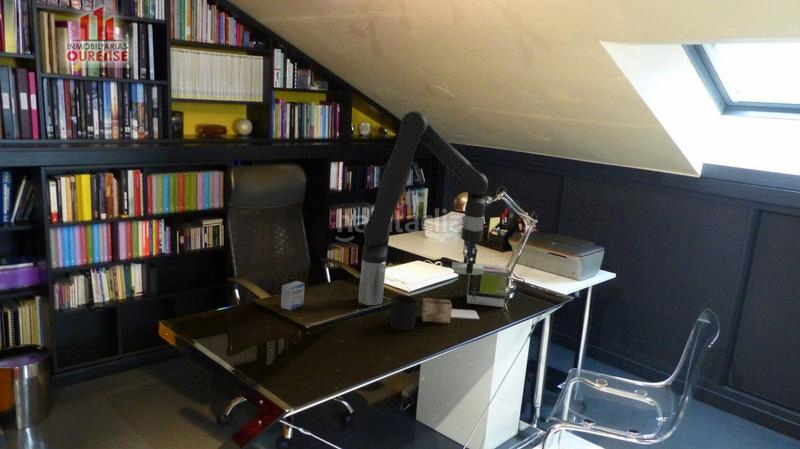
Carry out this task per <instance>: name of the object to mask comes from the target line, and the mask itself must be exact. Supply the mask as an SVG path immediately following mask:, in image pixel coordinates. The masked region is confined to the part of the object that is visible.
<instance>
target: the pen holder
mask: <svg viewBox="0 0 800 449" xmlns="http://www.w3.org/2000/svg"><path fill="white" fill-rule="evenodd" d="M418 305H419V302H418V301H417V300H416V299H415V297H414V296H412V295H406V294H397V295H394V296H392V297H391V299H390V312H389V313H390V314H389V315H390V316H389V318H390V320H389V326H390V327H391V328H392V329H394V330H396V331H403V332H407V331H412V330H413V329H414V328H415V325H416V324H415V323H416V319H417V311H418Z"/></svg>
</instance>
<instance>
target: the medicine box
mask: <svg viewBox="0 0 800 449" xmlns="http://www.w3.org/2000/svg"><path fill="white" fill-rule="evenodd" d="M305 285H306V284H305V283H304V282H302V281H298V280H294V281H292V282H289V283H286V284H283V285H281V295H280V296H281V298H280V299H281V300H280V307H281V308H282V309H285V310H288V311H292V310H294V309H297V308H299V307H301V306H304V301H305V300H304V299H305Z"/></svg>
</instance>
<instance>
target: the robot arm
mask: <svg viewBox="0 0 800 449" xmlns="http://www.w3.org/2000/svg"><path fill="white" fill-rule="evenodd" d="M419 143H422V144H423V145H425V146H426V147H427V148H428V150H430V151H431V152H432V153H433V154H434V156H435V157H436V158H437V159H438V160H439V161H440V162H441V163H442V165H444V166H445V168H446V169H447V170H449V171H450V172H451V173H452V174H453V175H454V176H455V177H456V178H458V179H459V180H460V182H461V183H462V184H463V185H464V186H465V187H466V188H467V197H466V198H467V199H466V203H465V209H464V216H463V220H462V227H461V239H462V240H463V249H462V250H463V251H462V254H463V255H462V256H463V261H462V263H467V268H466V273H467V274H466V275H469V274H472V271H473V264H475V263H476V260H477V259H476V258H477V253H478V248H477V245H476V243H479V242H481V241H482V240H483V238H482V237H483V230H484V223H485V222H484V221H485V220H484V217H485V210H486V194H487V191H488V190H487V189H488V187H489V182H488V181H489V180H488V178H487V176H486V175H485V174H484V173H482V172H479V171H478V170H477V169H476V168H474V167H473V165H472V164H471V162H469V160H467V158H466V157H464V155H462V154H461V153H460V152H459V151H458V150H457V149H456V148H455V147H453V146H452V145H451V144H450V143H449V142H448V141H446V139H444V138H443V137H442V135H440V134H439V133H438V132H437V131H436V129H435V128H434V127H433V126H432V125H431V123H430V122H429V121H428V119H427V118H426V116H425V115H424V114H423V113H422V112H420V111H410V112H407V113H406V114H404V115H403V117H402V118H401V121H400V125H399V131H398V134H397V138H396V142H395V145H394V148H393V151H392V152H391V154H390V157H389V159H388V161H387V163H386V166H385V168H384V171H383V174H382V177H381V180H380V183H379V185H378V186H379V187H378V191H377V193H376V194H377V195H376V199H375V204H374V207H373V209H372V212H371V215H370V216H369V219H368V221H367V222H366V223H365V224H366V225H365V226H364V229H363V238H364V243H363V244H364V245H363V249H362V254H361V255H362V256H361V257H362V258H361V270H360V276H359V288H358V290H359V291H358V303H362V304H365V305H378V304H381V303H382V304H383V300H384V286H385V277H386V276H385V275H386V267H387V266H386V265H387V257H388V251H389V249H388V248H389V241H390V230H391V229H390V225H391V221H392V218H393V216H394V213H395V210H396V208H397V207H398V205H399V203H400V201H401V198H402V196H403V193H404V192H405V190H406V188H407V187H406V186H407V184H408V181H409V178H410V174H411V170H412V165H413V160H414V154H415V152H416V149H417V147H418V146H419ZM362 304H361V305H362ZM382 304H381V305H382ZM365 305H364V306H365Z"/></svg>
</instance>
